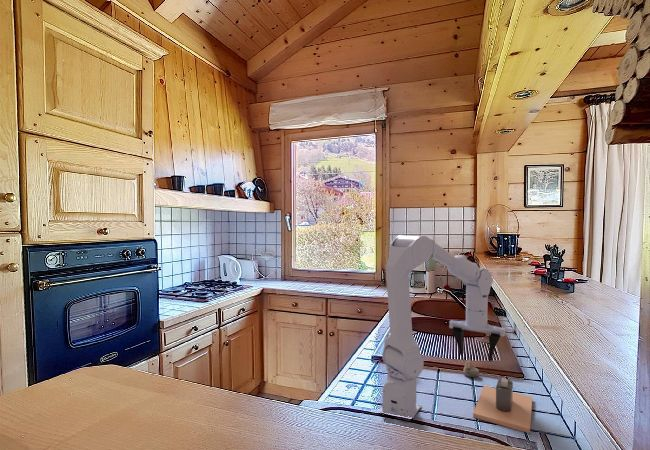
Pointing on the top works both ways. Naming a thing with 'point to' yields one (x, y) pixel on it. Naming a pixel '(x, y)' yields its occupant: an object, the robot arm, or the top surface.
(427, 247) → the robot arm
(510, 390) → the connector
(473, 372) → the figurine
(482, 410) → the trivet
